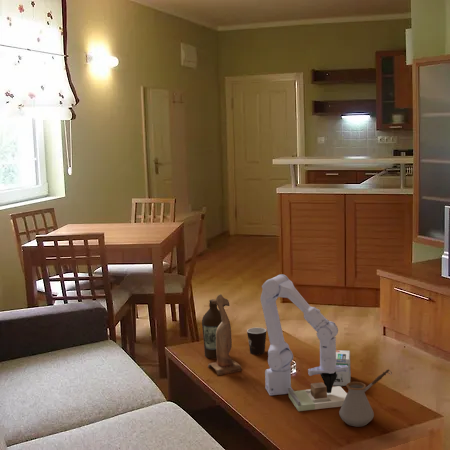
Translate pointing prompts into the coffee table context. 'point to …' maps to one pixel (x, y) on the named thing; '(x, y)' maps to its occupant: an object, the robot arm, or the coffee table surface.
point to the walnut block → (318, 390)
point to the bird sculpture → (224, 342)
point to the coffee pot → (358, 404)
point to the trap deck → (307, 401)
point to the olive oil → (211, 329)
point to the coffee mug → (256, 340)
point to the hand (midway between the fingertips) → (328, 392)
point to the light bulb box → (344, 377)
